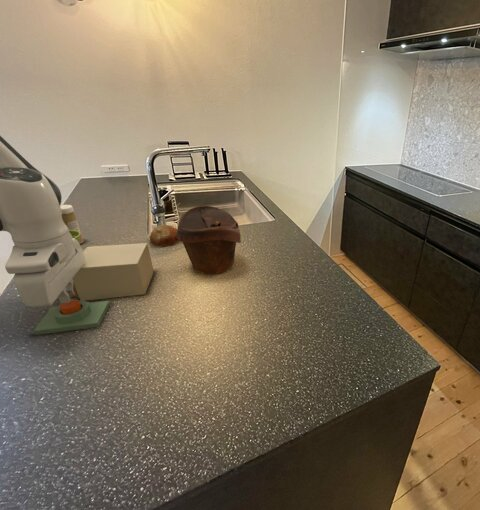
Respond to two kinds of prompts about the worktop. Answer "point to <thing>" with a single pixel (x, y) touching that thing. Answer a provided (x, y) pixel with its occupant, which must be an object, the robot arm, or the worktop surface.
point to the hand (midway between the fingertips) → (68, 299)
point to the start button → (70, 307)
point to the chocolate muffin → (209, 238)
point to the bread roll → (164, 236)
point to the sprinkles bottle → (70, 219)
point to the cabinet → (114, 271)
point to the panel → (72, 318)
